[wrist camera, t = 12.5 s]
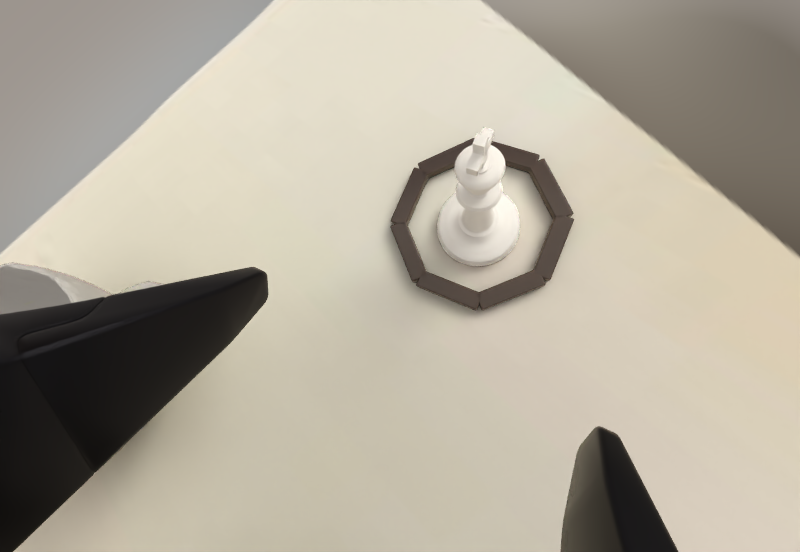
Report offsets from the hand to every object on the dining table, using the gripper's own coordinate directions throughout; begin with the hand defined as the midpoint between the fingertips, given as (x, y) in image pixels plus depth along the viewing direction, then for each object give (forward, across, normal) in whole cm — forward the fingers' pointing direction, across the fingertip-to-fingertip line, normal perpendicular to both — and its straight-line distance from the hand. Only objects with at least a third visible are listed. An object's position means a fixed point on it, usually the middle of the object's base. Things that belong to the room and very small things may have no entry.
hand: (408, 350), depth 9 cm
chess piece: (+15, +1, +3) cm, 15 cm away
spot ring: (+15, +1, +3) cm, 15 cm away
